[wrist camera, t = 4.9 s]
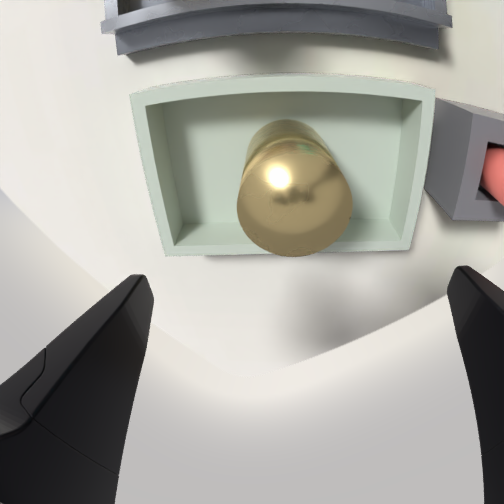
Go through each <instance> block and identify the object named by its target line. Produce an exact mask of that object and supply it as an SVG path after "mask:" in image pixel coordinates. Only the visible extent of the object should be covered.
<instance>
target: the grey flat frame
mask: <svg viewBox="0 0 504 504" xmlns="http://www.w3.org/2000/svg"><path fill="white" fill-rule="evenodd" d="M104 5H105V17H106V20H104V21H102V22H101V32H102V34H115V38H116V47H117V55H127V54H130V53H134V52H138V51H142V50H146V49H151V48H155V47H160V46H165V45H170V44H175V43H181V42H186V41H193V40H199V39H206V38H214V37H223V36H233V35H245V34H262V33H320V34H337V35H349V36H359V37H367V38H375V39H382V40H389V41H395V42H400V43H406V44H411V45H416V46H420V47H425V48H429V49H439V40H438V28H452V16H451V15H448V14H447V8H446V0H104Z"/></svg>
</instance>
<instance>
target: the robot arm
mask: <svg viewBox="0 0 504 504" xmlns="http://www.w3.org/2000/svg"><path fill="white" fill-rule="evenodd" d="M447 295H448V299H449V303H450V307H451V312H452V316H453V321H454V326H455V330H456V334H457V339H458V342H459V346H460V350H461V353H462V357H463V361H464V364H465V368H466V372H467V376H468V380H469V385H470V389H471V394H472V399H473V404H474V409H475V414H476V420H477V426H478V433H479V440H480V447H481V455H482V456H481V457H482V467H483V482H484V504H504V291H503V290H501V289H500V288H499V287H497V286H496V285H495V284H493V283H492V282H491V281H489V280H488V279H486V278H485V277H484V276H482V275H481V274H479V273H478V272H477V271H475V270H474V269H472V268H471V267H469V266H458V267H456V268H455V270H454V272H453V275H452V277H451V280H450V282H449V284H448V288H447ZM153 305H154V297H153V294H152V291H151V288H150V285H149V283H148V280H147V278H146V276H145V275H142V274H133V275H130V276H129V277H128V278H126V279H125V280H124V281H123V282H121V283H120V284H119V285H118V286H116V287H115V288H114V289H113V290H112V291H110V292H109V293H108V294H107V295H106V296H104V297H103V298H102V299H101V300H99V301H98V302H97V303H96V304H95V305H93V306H92V307H91V308H90V309H89V310H87V311H86V312H85V313H84V314H83V315H82V316H80V317H79V318H78V319H77V320H76V321H74V322H73V323H72V324H71V325H70V326H69V327H67V328H66V329H65V330H64V331H63V332H62V333H61V334H59V335H58V336H57V337H56V338H55V339H54V340H53V341H51V342H50V343H49V344H48V345H47V346H46V348H44V349H43V350H41V351H40V352H39V353H38V354H37V355H36V356H35V357H34V358H33V359H31V360H30V361H29V362H28V363H27V364H26V365H24V366H23V367H22V368H21V369H20V370H18V371H17V372H16V373H15V374H13V375H12V376H11V377H10V378H9V379H7V380H6V381H5V382H3V383H2V384H1V385H0V504H115V497H116V491H117V484H118V478H119V476H118V475H119V471H120V466H121V460H122V454H123V449H124V444H125V439H126V434H127V429H128V424H129V419H130V415H131V411H132V406H133V401H134V397H135V393H136V389H137V385H138V380H139V376H140V372H141V368H142V364H143V361H144V356H145V352H146V348H147V342H148V336H149V329H150V323H151V317H152V311H153Z"/></svg>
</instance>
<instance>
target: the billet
mask: <svg viewBox="0 0 504 504" xmlns="http://www.w3.org/2000/svg"><path fill="white" fill-rule="evenodd" d="M352 209H353V200H352V194H351V190H350V187H349V185H348V183H347V181H346V179H345V177H344V176H343V174H342V172H341V170H340V169H339V167H338V165H337V163H336V162H335V160H334V158H333V156H332V155H331V153H330V151H329V150H328V148H327V146H326V145H325V143H324V141H323V140H322V138H321V137H320V135H319V134H318V133H317V132H316V131H315V130H314V129H313V128H312V127H310V126H309V125H307V124H305V123H303V122H300V121H297V120H291V119H283V120H277V121H273V122H270V123H268V124H266V125H265V126H263V127H262V128H260V129H259V130H258V131H257V132H256V133H255V134H254V136H253V137H252V139H251V141H250V143H249V145H248V149H247V154H246V158H245V163H244V168H243V173H242V178H241V183H240V188H239V193H238V198H237V215H238V220H239V222H240V225H241V227H242V229H243V231H244V232H245V234H246V235H247V236H248V238H249V239H250V240H251V241H252V242H254V243H255V244H256V245H257V246H259V247H260V248H262V249H264V250H266V251H268V252H270V253H273V254H276V255H280V256H287V257H299V256H306V255H310V254H314V253H317V252H319V251H321V250H323V249H325V248H327V247H328V246H330V245H331V244H333V243H334V242H335V241H336V240H337V239H338V238H339V237H340V236H341V235H342V234H343V232H344V231H345V229H346V228H347V225H348V223H349V221H350V218H351V215H352Z"/></svg>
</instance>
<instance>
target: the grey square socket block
mask: <svg viewBox="0 0 504 504" xmlns="http://www.w3.org/2000/svg"><path fill="white" fill-rule="evenodd" d="M490 143H495V144H498V145H500V146H501V147H503V148H504V114H501V113H498V112H495V111H491V110H487V109H484V108H480V107H476V106H472V105H468V104H464V103H459V102H455V101H450V100H445V99H440V98H436V100H435V112H434V123H433V132H432V140H431V148H430V155H429V161H428V168H427V174H426V179H425V185H424V189H425V190H426V191H427V192H428V193H429V194H430V195H431V196H432V197H433V198H434V199H435V201H436V202H437V203H438V204H439V205H440V206H441V207H442V209H443V210H444V211H445V212H446V213H447V214H448V216H449V217H450V218H451V219H452V220H476V221H504V206H503V205H502V204H501V203H500V202H499V201H498V200H496V199H495V198H494V197H493V196H492V195H491V194H490V193H489V192H488V191H487V190H485V189H484V188H483V187H482V186H481V185H480V184H479V183H480V178H481V174H482V169H483V164H484V159H485V154H486V149H487V144H490Z"/></svg>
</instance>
